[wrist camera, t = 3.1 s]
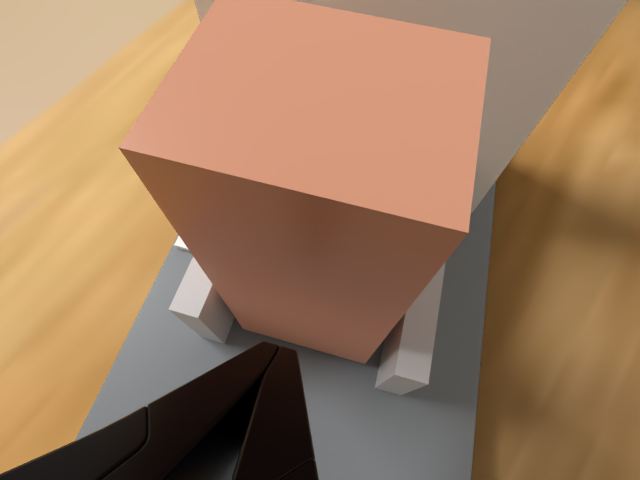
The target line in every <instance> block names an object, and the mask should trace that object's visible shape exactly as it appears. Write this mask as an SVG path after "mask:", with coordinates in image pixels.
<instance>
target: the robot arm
mask: <svg viewBox="0 0 640 480" xmlns="http://www.w3.org/2000/svg"><path fill="white" fill-rule="evenodd" d="M231 478H232V479H231ZM0 480H319V477H318V471H317V465H316V461H315V454H314V448H313V442H312V436H311V430H310V424H309V418H308V412H307V406H306V400H305V394H304V388H303V381H302V375H301V369H300V363H299V357H298V352H297V350H295V349H292V348H288V347H285V346H281V347H279V345H278V344H274V343H271V342H268V341H262V342H260V343H258V344H256V345H255V346H253V347H251V348H249V349H247V350H246V351H244V352H242V353H240V354H238V355H236V356H235V357H233V358H231V359H229V360H227V361H226V362H224V363H222V364H220V365H218V366H216V367H215V368H213V369H211V370H209V371H207V372H206V373H204V374H202V375H200V376H198V377H196V378H195V379H193V380H191V381H189V382H187V383H185V384H184V385H182V386H180V387H178V388H176V389H175V390H173V391H171V392H169V393H167V394H165V395H164V396H162V397H160V398H158V399H156V400H155V401H153V402H151V403H149V404H148V405H147V407H146V406H143V407H141V408H140V409H138V410H136V411H134V412H132V413H131V414H129V415H127V416H125V417H123V418H121V419H119V420H117V421H115V422H113V423H111V424H109V425H108V426H106V427H104V428H102V429H100V430H97V431H95V432H93V433H91V434H89V435H87V436H85V437H82V438H80V439H78V440H76V441H74V442H72V443H70V444H67V445H65V446H63V447H60V448H58V449H56V450H54V451H51V452H49V453H47V454H45V455H42V456H40V457H38V458H36V459H33V460H31V461H29V462H27V463H24V464H22V465H20V466H18V467H15V468H13V469H11V470H8V471H6V472H4V473H2V474H0Z"/></svg>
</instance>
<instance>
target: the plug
mask: <svg viewBox="0 0 640 480" xmlns="http://www.w3.org/2000/svg"><path fill="white" fill-rule="evenodd" d="M490 43H491V38H487V37H482V36H476V35H471V34H466V33H461V32H455V31H450V30H445V29H440V28H434V27H429V26H424V25H419V24H413V23H408V22H403V21H398V20H392V19H387V18H382V17H377V16H371V15H366V14H361V13H356V12H350V11H345V10H340V9H335V8H329V7H324V6H319V5H314V4H308V3H303V2H298V1H293V0H215V1H214V3H213V4H212V6H211V7H210V9H209V11H208V12H207V14H206V15H205V17H204V18H203V20H202V21H201V23H200V24H199V26H198V27H197V29H196V30H195V32H194V33H193V35H192V36H191V38H190V39H189V41H188V43H187V44H186V46H185V47H184V49H183V50H182V52H181V53H180V55H179V56H178V58H177V59H176V61H175V62H174V64H173V65H172V67H171V68H170V70H169V71H168V73H167V75H166V76H165V78H164V79H163V81H162V82H161V84H160V85H159V87H158V88H157V90H156V91H155V93H154V94H153V96H152V97H151V99H150V100H149V102H148V103H147V105H146V107H145V108H144V110H143V111H142V113H141V114H140V116H139V117H138V119H137V120H136V122H135V123H134V125H133V126H132V128H131V129H130V131H129V132H128V134H127V135H126V137H125V139H124V140H123V142H122V143H121V145H120V146H119V149H120V150H121V152H122V153H123V155H124V156H125V157H126V159H127V160H128V162H129V163H130V165H131V166H132V168H133V169H134V171H135V172H136V174H137V175H138V176H139V178H140V179H141V181H142V182H143V184H144V185H145V187H146V188H147V190H148V191H149V192H150V194H151V195H152V197H153V198H154V200H155V201H156V203H157V204H158V206H159V207H160V209H161V210H162V211H163V213H164V214H165V216H166V217H167V219H168V220H169V222H170V223H171V225H172V226H173V227H174V229H175V230H176V232H177V233H178V235H179V236H180V238H181V239H182V241H183V242H184V244H185V245H186V246H187V248H188V249H189V251H190V252H191V254H192V255H193V257H194V258H195V260H196V261H197V262H198V264H199V265H200V267H201V268H202V270H203V271H204V273H205V274H206V276H207V277H208V279H209V280H210V281H211V283H212V284H213V286H214V287H215V289H216V290H217V292H218V293H219V295H220V296H221V297H222V299H223V300H224V302H225V303H226V305H227V306H228V308H229V309H230V311H231V312H232V314H233V315H234V316H235V318H236V319H237V321H238V322H239V324H240V325H241V327H242V328H243V329H245V330H248V331H252V332H255V333H259V334H262V335H266V336H269V337H273V338H276V339H280V340H283V341H286V342H290V343H293V344H297V345H300V346H304V347H307V348H311V349H314V350H318V351H321V352H325V353H328V354H332V355H335V356H339V357H342V358H345V359H349V360H352V361H356V362H359V363H363V364H365V363H366V362H367V361H368V359H369V358H370V357H371V356H372V354H373V353H374V352H375V350H376V349H377V348H378V347H379V345H380V344H381V343H382V342H383V340H384V339H385V338H386V337H387V335H388V334H389V333H390V331H391V330H392V329H393V328H394V326H395V325H396V324H397V323H398V321H399V320H400V319H401V318H402V316H403V315H404V314H405V312H406V311H407V310H408V309H409V307H410V306H411V305H412V304H413V302H414V301H415V300H416V299H417V297H418V296H419V295H420V294H421V292H422V291H423V290H424V288H425V287H426V286H427V285H428V283H429V282H430V281H431V280H432V278H433V277H434V276H435V275H436V273H437V272H438V271H439V269H440V268H441V267H442V266H443V264H444V263H445V262H446V261H447V259H448V258H449V257H450V256H451V254H452V253H453V252H454V250H455V249H456V248H457V247H458V245H459V244H460V243H461V242H462V240H463V239H464V238H465V237H466V235H467V234H468V232H469V223H470V215H471V206H472V198H473V189H474V180H475V172H476V163H477V155H478V146H479V138H480V129H481V120H482V112H483V103H484V95H485V86H486V78H487V69H488V60H489V52H490Z"/></svg>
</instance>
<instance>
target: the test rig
mask: <svg viewBox="0 0 640 480" xmlns="http://www.w3.org/2000/svg"><path fill="white" fill-rule="evenodd" d="M194 1H195V4H196V8H197V12H198V15H199V19H200V22H201V21H202V20H203V18H204V17H205V15H206V14H207V12H208V11H209V9H210V7H211V6H212V4H213V3H214V1H215V0H194ZM293 1H298V2H303V3H308V4H314V5H319V6H324V7H329V8H335V9H340V10H345V11H350V12H356V13H361V14H366V15H371V16H377V17H382V18H387V19H392V20H398V21H403V22H408V23H413V24H419V25H424V26H429V27H434V28H440V29H445V30H450V31H455V32H461V33H466V34H471V35H476V36H482V37H487V38H491V43H490V52H489V60H488V69H487V78H486V86H485V95H484V103H483V112H482V120H481V129H480V138H479V146H478V155H477V163H476V172H475V180H474V189H473V198H472V206H471V215H470V223H469V232H468V234H467V235H466V237H465V238H464V239H463V240H462V242H461V243H460V244H459V245H458V247H457V248H456V249H455V250H454V252H453V253H452V254H451V256H450V257H449V258H448V259H447V261H446V262H445V263H444V264H443V266H442V267H441V268H440V269H439V271H438V272H437V273H436V275H435V276H434V277H433V278H432V280H431V281H430V282H429V283H428V285H427V286H426V287H425V288H424V290H423V291H422V292H421V294H420V295H419V296H418V297H417V299H416V300H415V301H414V302H413V304H412V305H411V306H410V307H409V309H408V310H407V311H406V312H405V314H404V315H403V316H402V318H401V319H400V320H399V321H398V323H397V324H396V325H395V326H394V328H393V329H392V330H391V331H390V333H389V334H388V335H387V337H386V338H385V339H384V340H383V342H382V343H381V344H380V345H379V347H378V348H377V349H376V350H375V352H374V353H373V354H372V356H371V357H370V358H369V359H368V361H367V362H366V363H365V364H363V363H359V362H356V361H352V360H349V359H345V358H342V357H339V356H335V355H332V354H328V353H325V352H321V351H318V350H314V349H311V348H307V347H304V346H300V345H297V344H293V343H290V342H286V341H283V340H280V339H276V338H273V337H269V336H266V335H262V334H259V333H255V332H252V331H248V330H245V329H243V328H242V327H241V325H240V324H239V322H238V321H237V319H236V318H235V316H234V315H233V314H232V312H231V311H230V309H229V308H228V306H227V305H226V303H225V302H224V300H223V299H222V297H221V296H220V295H219V293H218V292H217V290H216V289H215V287H214V286H213V284H212V283H211V281H210V280H209V279H208V277H207V276H206V274H205V273H204V271H203V270H202V268H201V267H200V265H199V264H198V262H197V261H196V260H195V258H194V257H193V255H192V254H191V252H190V251H189V249H188V248H187V246H186V245H185V244H184V242H183V241H182V239H181V238H180V236H179V235H178V236H177V238H176V240H175V242H174V244H173V246H172V248H171V250H170V252H169V254H168V256H167V258H166V260H165V262H164V264H163V266H162V268H161V270H160V272H159V274H158V276H157V278H156V280H155V282H154V284H153V286H152V288H151V290H150V292H149V294H148V296H147V298H146V300H145V302H144V304H143V306H142V308H141V310H140V312H139V314H138V316H137V318H136V320H135V322H134V324H133V326H132V328H131V330H130V332H129V334H128V336H127V338H126V340H125V342H124V344H123V346H122V348H121V350H120V352H119V354H118V356H117V358H116V360H115V362H114V364H113V366H112V368H111V370H110V372H109V374H108V376H107V378H106V380H105V382H104V384H103V386H102V388H101V390H100V392H99V394H98V396H97V398H96V400H95V402H94V404H93V406H92V408H91V410H90V412H89V414H88V416H87V418H86V420H85V422H84V424H83V426H82V428H81V430H80V432H79V434H78V436H77V438H76V440H78V439H80V438H82V437H85V436H87V435H89V434H91V433H93V432H95V431H97V430H100V429H102V428H104V427H106V426H108V425H109V424H111V423H113V422H115V421H117V420H119V419H121V418H123V417H125V416H127V415H129V414H131V413H132V412H134V411H136V410H138V409H140V408H141V407H143V406H146V407H147V405H148V404H149V403H151V402H153V401H155V400H156V399H158V398H160V397H162V396H164V395H165V394H167V393H169V392H171V391H173V390H175V389H176V388H178V387H180V386H182V385H184V384H185V383H187V382H189V381H191V380H193V379H195V378H196V377H198V376H200V375H202V374H204V373H206V372H207V371H209V370H211V369H213V368H215V367H216V366H218V365H220V364H222V363H224V362H226V361H227V360H229V359H231V358H233V357H235V356H236V355H238V354H240V353H242V352H244V351H246V350H247V349H249V348H251V347H253V346H255V345H256V344H258V343H260V342H262V341H268V342H271V343H274V344H278V345H279V347H281V346H285V347H288V348H292V349H295V350H297V352H298V357H299V363H300V369H301V375H302V381H303V388H304V394H305V400H306V406H307V412H308V418H309V424H310V430H311V436H312V442H313V448H314V454H315V461H316V465H317V471H318V477H319V480H471V470H472V459H473V447H474V435H475V424H476V412H477V400H478V388H479V377H480V365H481V353H482V342H483V330H484V318H485V306H486V295H487V283H488V271H489V260H490V248H491V236H492V225H493V213H494V201H495V189H496V180H497V179H498V177H499V176H500V174H501V173H502V172H503V170H504V169H505V168H506V166H507V165H508V164H509V162H510V161H511V159H512V158H513V157H514V155H515V154H516V153H517V151H518V150H519V149H520V147H521V146H522V145H523V143H524V142H525V140H526V139H527V138H528V136H529V135H530V134H531V132H532V131H533V130H534V128H535V127H536V125H537V124H538V123H539V121H540V120H541V119H542V117H543V116H544V115H545V113H546V112H547V111H548V109H549V108H550V106H551V105H552V104H553V102H554V101H555V100H556V98H557V97H558V96H559V94H560V93H561V91H562V90H563V89H564V87H565V86H566V85H567V83H568V82H569V81H570V79H571V78H572V76H573V75H574V74H575V72H576V71H577V70H578V68H579V67H580V66H581V64H582V63H583V62H584V60H585V59H586V57H587V56H588V55H589V53H590V52H591V51H592V49H593V48H594V47H595V45H596V44H597V42H598V41H599V40H600V38H601V37H602V36H603V34H604V33H605V32H606V30H607V29H608V28H609V26H610V25H611V23H612V22H613V21H614V19H615V18H616V17H617V15H618V14H619V13H620V11H621V10H622V8H623V7H624V6H625V4H626V3H627V2H628V0H293ZM76 440H75V441H76ZM231 479H232V478H231Z"/></svg>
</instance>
